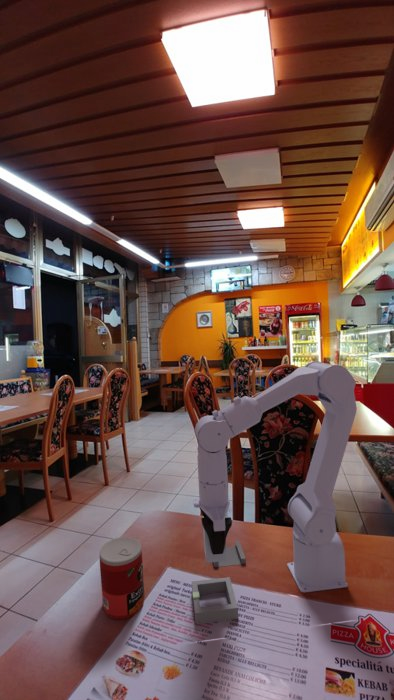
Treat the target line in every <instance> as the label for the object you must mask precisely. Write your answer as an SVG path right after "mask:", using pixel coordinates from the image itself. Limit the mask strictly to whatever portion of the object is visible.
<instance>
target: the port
mask: <svg viewBox="0 0 394 700" xmlns="http://www.w3.org/2000/svg"><path fill="white" fill-rule="evenodd" d="M233 588H234V587H233V583H232V580H231V577H230V576H227V577H219V578H211V579H201V580H195V581H193V580H191V591H192V601H193V602H192V603H193V608H194V609H193V610H194V619H195V625H201V624H202V625H203V624H209V623H216V622H217V623H218V622H222V621H223V622H224V621H231V620H238V619H239V606H238V604H237V603H238V602H237V600H236V595H235V592H234V589H233ZM222 592H223V593H224V592H226V597H227V601H228V604H221V605H212V606H206V607H201V602H200V601H201V600H200V598H201V597H200V595H205V594H207V595H208V594H215V593H222Z"/></svg>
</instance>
